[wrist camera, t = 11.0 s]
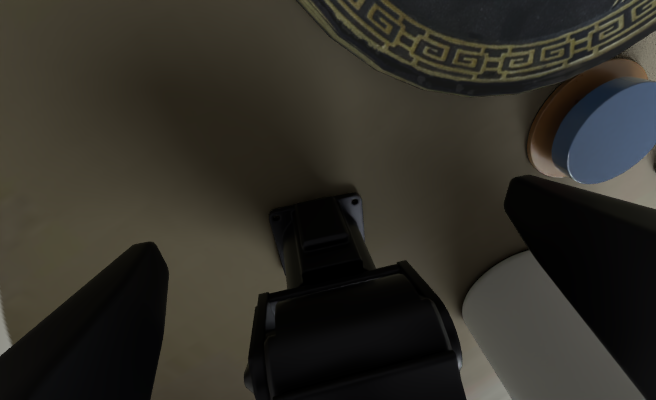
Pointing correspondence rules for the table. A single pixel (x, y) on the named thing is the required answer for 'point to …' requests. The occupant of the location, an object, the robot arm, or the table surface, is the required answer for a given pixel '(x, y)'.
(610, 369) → the cylinder vase
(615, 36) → the decorative plate
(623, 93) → the flat blue disc
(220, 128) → the table surface
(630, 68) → the coaster
